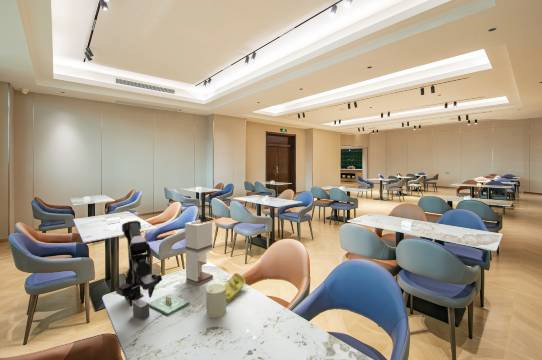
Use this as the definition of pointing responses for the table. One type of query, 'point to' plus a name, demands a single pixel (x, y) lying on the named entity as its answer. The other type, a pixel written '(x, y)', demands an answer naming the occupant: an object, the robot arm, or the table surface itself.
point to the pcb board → (168, 304)
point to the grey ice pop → (140, 309)
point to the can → (216, 300)
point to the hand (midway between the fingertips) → (140, 301)
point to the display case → (197, 250)
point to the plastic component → (234, 286)
